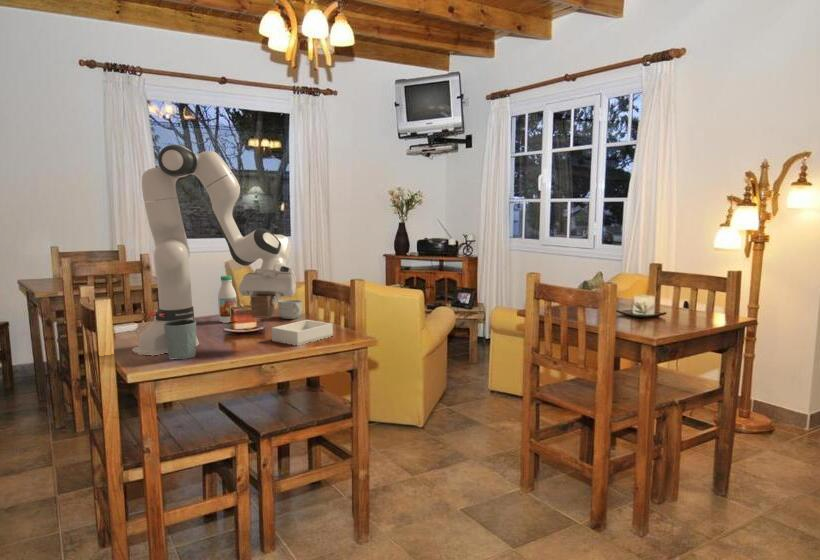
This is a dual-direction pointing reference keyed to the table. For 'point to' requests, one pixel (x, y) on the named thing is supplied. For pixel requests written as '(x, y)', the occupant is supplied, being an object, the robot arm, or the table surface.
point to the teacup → (289, 308)
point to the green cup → (181, 338)
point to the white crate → (302, 332)
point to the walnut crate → (262, 306)
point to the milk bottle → (226, 299)
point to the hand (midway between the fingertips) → (262, 304)
